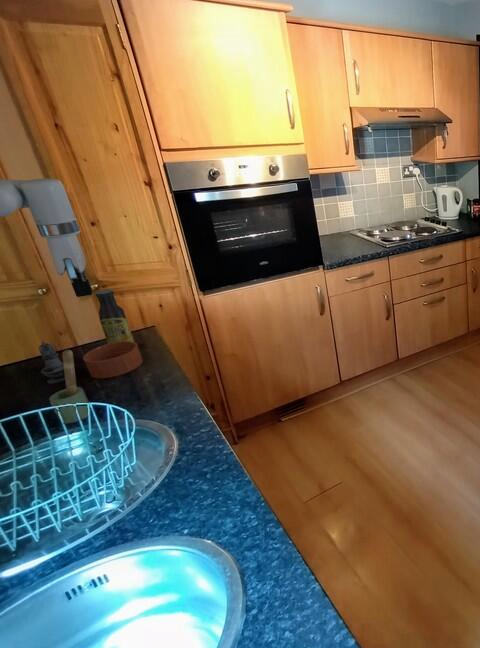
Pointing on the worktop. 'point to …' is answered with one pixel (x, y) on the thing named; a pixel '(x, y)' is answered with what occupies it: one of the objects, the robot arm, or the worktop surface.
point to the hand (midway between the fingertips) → (85, 294)
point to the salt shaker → (52, 364)
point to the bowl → (113, 359)
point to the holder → (70, 412)
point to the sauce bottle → (113, 318)
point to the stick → (69, 372)
